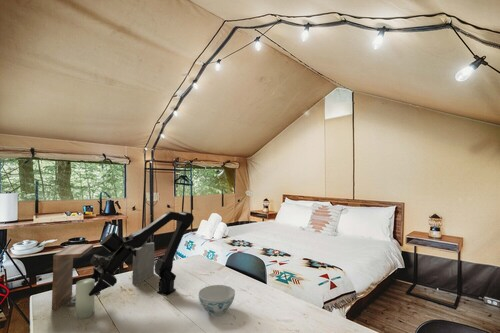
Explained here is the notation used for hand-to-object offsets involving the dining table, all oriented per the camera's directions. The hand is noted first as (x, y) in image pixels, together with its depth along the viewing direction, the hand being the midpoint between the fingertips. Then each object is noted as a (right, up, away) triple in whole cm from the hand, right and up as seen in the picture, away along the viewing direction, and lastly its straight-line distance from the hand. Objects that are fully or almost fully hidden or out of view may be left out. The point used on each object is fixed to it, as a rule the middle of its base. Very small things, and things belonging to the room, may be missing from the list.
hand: (87, 291), depth 106 cm
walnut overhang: (-11, -9, +11) cm, 18 cm away
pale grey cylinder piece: (-1, -9, -1) cm, 9 cm away
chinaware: (+52, -10, +2) cm, 53 cm away
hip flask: (+8, -10, +36) cm, 38 cm away
